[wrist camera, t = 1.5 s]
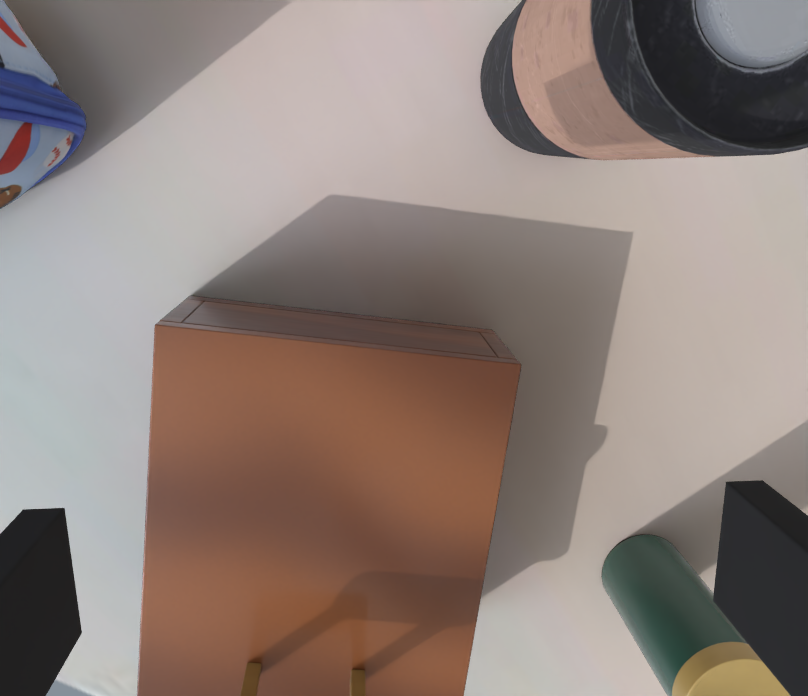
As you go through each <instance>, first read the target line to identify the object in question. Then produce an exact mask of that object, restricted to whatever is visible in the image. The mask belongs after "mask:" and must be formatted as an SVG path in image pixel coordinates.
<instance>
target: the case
mask: <svg viewBox="0 0 808 696" xmlns="http://www.w3.org/2000/svg"><path fill="white" fill-rule="evenodd" d="M160 321H166V322H175V323H185V324H194V325H203V326H212V327H221V328H230V329H239V330H249V331H258V332H267V333H276V334H285V335H294V336H304V337H313V338H322V339H331V340H340V341H349V342H359V343H368V344H377V345H386V346H395V347H404V348H414V349H423V350H432V351H441V352H450V353H459V354H469V355H478V356H487V357H496V358H505V359H514V360H517V359H516V358H515V356H514V355H513V354H512V353H511V352H510V350H509V349H508V348H507V347H506V346H505V344H504V343H503V342H502V341H501V340H500V338H499V337H498V336H497V335H496V333H495V332H494V331H493V330H489V329H480V328H471V327H463V326H454V325H445V324H436V323H427V322H418V321H409V320H401V319H392V318H383V317H374V316H365V315H356V314H347V313H339V312H330V311H321V310H312V309H303V308H294V307H286V306H277V305H268V304H259V303H250V302H241V301H232V300H224V299H215V298H206V297H197V296H189V297H188V298H186V299H185V300H184V301H183V302H182V303H180V304H179V305H178V306H177V307H176V308H174V309H173V310H172V311H171V312H170V313H168V314H167V315H166V316H165V317H164V318H162V319H161V320H160Z"/></svg>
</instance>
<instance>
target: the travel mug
mask: <svg viewBox="0 0 808 696" xmlns="http://www.w3.org/2000/svg"><path fill="white" fill-rule="evenodd" d="M481 92H482V98H483V102H484V106H485V108H486V111H487V113H488V116H489V117H490V119H491V121H492V123H493V124H494V126H495V127H496V128H497V130H498V131H499V132H500V133H501V134H502V135H503V136H504V137H505V138H506V139H507V140H509V141H510V142H511V143H513V144H514V145H516V146H518V147H520V148H522V149H524V150H527V151H530V152H533V153H537V154H543V155H551V156H562V157H573V158H584V159H595V160H627V159H657V158H686V157H715V156H746V155H771V154H780V153H785V152H790V151H796V150H800V149H803V148H807V147H808V0H522V1H521V2H520V3H519V5H518V6H517V7H516V8H515V9H514V10H513V12H512V13H511V14H510V15H509V16H508V17H507V19H506V20H505V21H504V22H503V23H502V25H501V26H500V27H499V29H498V30H497V31H496V33H495V34H494V36H493V38H492V40H491V41H490V43H489V45H488V47H487V50H486V53H485V56H484V59H483V63H482V69H481Z"/></svg>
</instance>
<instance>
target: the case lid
mask: <svg viewBox="0 0 808 696" xmlns="http://www.w3.org/2000/svg"><path fill="white" fill-rule="evenodd" d="M520 371H521V364H520V362H519V361H518V360H514V359H505V358H496V357H487V356H478V355H469V354H459V353H450V352H441V351H432V350H423V349H414V348H404V347H395V346H386V345H377V344H368V343H359V342H349V341H340V340H331V339H322V338H313V337H304V336H294V335H285V334H276V333H267V332H258V331H249V330H239V329H230V328H221V327H212V326H203V325H194V324H185V323H175V322H166V321H159V322H158V323H157V324H155V332H154V353H153V374H152V395H151V416H150V436H149V457H148V478H147V499H146V520H145V541H144V561H143V582H142V603H141V624H140V645H139V665H138V686H137V696H464V690H465V684H466V679H467V673H468V667H469V661H470V656H471V650H472V644H473V639H474V633H475V627H476V622H477V616H478V610H479V604H480V599H481V593H482V587H483V582H484V576H485V570H486V565H487V559H488V553H489V547H490V542H491V536H492V530H493V525H494V519H495V513H496V507H497V502H498V496H499V490H500V485H501V479H502V473H503V468H504V462H505V456H506V450H507V445H508V439H509V433H510V428H511V422H512V416H513V411H514V405H515V399H516V393H517V388H518V382H519V376H520Z"/></svg>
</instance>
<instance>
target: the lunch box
mask: <svg viewBox="0 0 808 696" xmlns="http://www.w3.org/2000/svg"><path fill="white" fill-rule="evenodd" d="M85 120H86V116H85V114H84V112H83V110H82V109H81V108H80V106H79V105H78V104H77V103H75V102H73V101H71V100H70V99H69V98H68V97H67V96H66V95H65V94H64V93H62V92H61V88H60V84H59V81H58V79H57V76H56V75H55V73H54V72H53V70H52V69H51V67H50V66H49V65H48V64H47V63H46V62H45V60H44V59H43V58H42V57H41V55H40V54H39V52H38V51H37V49H36V48H35V46H34V45H33V44H32V42H31V41H30V39H29V38H28V36H27V35H26V33H25V32H24V30H23V28H22V27H21V25H20V23H19V22H18V20H17V18H16V17H15V15H14V14H13V12H12V11H11V10H10V9H9V8H8V6H7V5H6V3H5V2H4V0H0V209H1V208H3V207H4V206H6V205H8V204H9V203H11V202H12V201H14V200H16V199H17V198H19V197H20V196H21V195H22V194H24V193H25V192H26V191H27V190H28V189H30V188H31V187H33V186H34V185H36V184H37V183H39V182H40V181H41V180H43V179H44V178H46V177H47V176H48V175H49V174H51V173H52V172H53V171H54V170H56V169H57V168H58V167H59V166H60V165H62V164H63V163H64V162H65V161H66V160H67V159H68V157H69V156H70V155H71V154H72V153H73V152H74V151H75V149H76V148H77V147H78V146H79V144H80V142H81V141H82V139H83V136H84V131H85V130H86V122H85Z"/></svg>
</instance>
